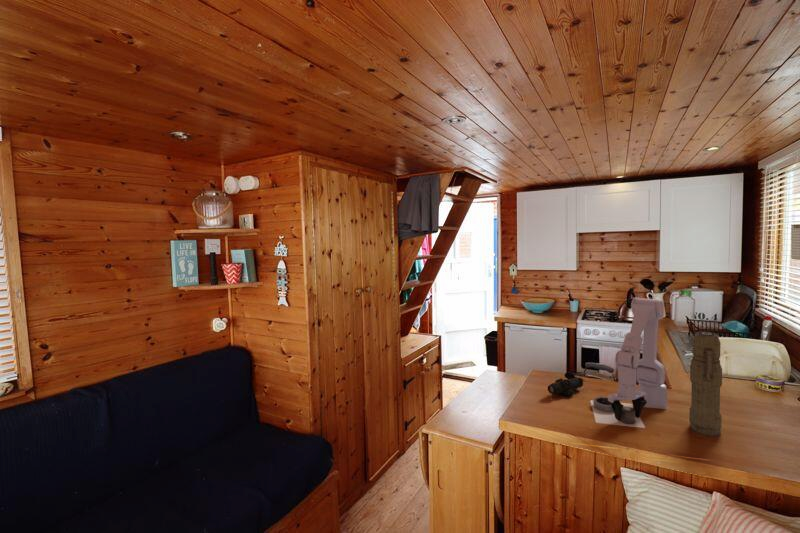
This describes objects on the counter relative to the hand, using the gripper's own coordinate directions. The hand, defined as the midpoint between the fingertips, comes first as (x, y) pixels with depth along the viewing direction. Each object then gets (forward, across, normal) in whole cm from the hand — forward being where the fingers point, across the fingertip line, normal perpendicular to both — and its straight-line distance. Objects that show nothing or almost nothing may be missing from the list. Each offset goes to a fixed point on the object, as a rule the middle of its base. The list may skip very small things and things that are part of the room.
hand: (627, 418), depth 145 cm
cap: (+1, 0, 0) cm, 1 cm away
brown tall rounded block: (+2, -21, +12) cm, 24 cm away
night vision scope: (+2, +8, -28) cm, 29 cm away
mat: (+2, 0, -7) cm, 7 cm away
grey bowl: (+1, 0, -12) cm, 12 cm away
